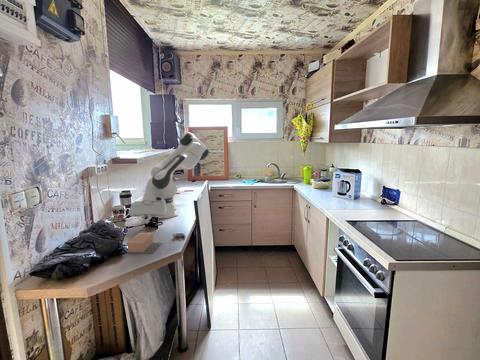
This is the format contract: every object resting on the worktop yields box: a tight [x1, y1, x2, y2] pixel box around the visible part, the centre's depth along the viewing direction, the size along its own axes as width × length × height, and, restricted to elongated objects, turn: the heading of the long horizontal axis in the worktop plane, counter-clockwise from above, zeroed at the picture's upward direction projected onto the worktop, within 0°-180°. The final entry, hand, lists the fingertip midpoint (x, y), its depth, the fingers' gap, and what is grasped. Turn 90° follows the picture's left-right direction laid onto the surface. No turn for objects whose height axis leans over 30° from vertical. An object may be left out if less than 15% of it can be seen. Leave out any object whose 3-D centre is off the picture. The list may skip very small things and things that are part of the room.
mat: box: [124, 242, 163, 255], centre depth 136 cm, size 14×18×1 cm
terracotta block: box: [127, 232, 155, 252], centre depth 137 cm, size 5×8×14 cm
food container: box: [107, 217, 127, 229], centre depth 153 cm, size 12×6×10 cm, turn 141°
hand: (144, 223), depth 141 cm, fingers closed
